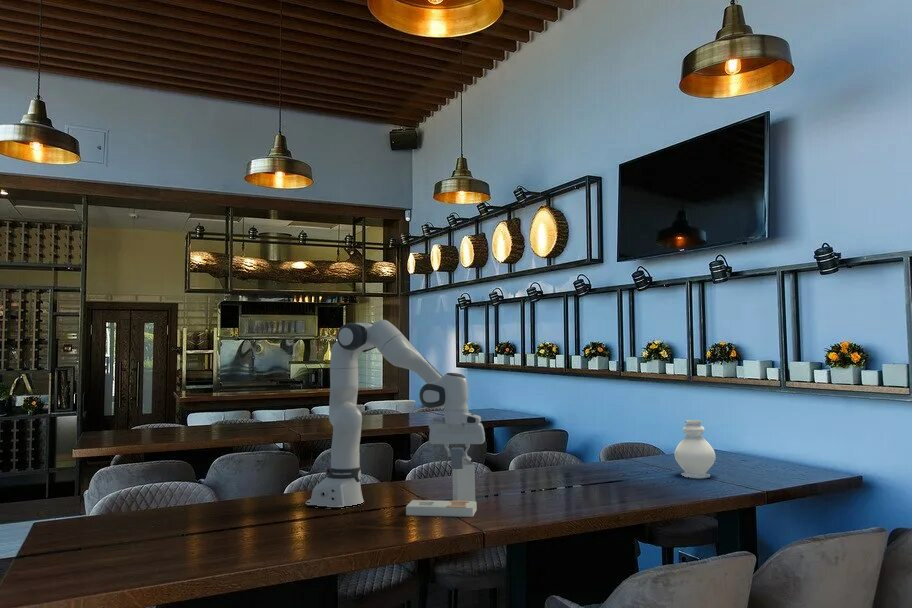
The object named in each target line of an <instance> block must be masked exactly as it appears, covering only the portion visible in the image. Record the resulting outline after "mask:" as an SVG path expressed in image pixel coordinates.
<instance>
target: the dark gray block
mask: <svg viewBox="0 0 912 608" xmlns="http://www.w3.org/2000/svg"><path fill="white" fill-rule="evenodd" d="M464 449H465V448H464V447H452V448H450V451H451V457H450V465H451V467H450V468H451V470H452V469H463V468H464V457H463V456H462V455H463V454H462V452H463V451H465V450H464Z"/></svg>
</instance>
